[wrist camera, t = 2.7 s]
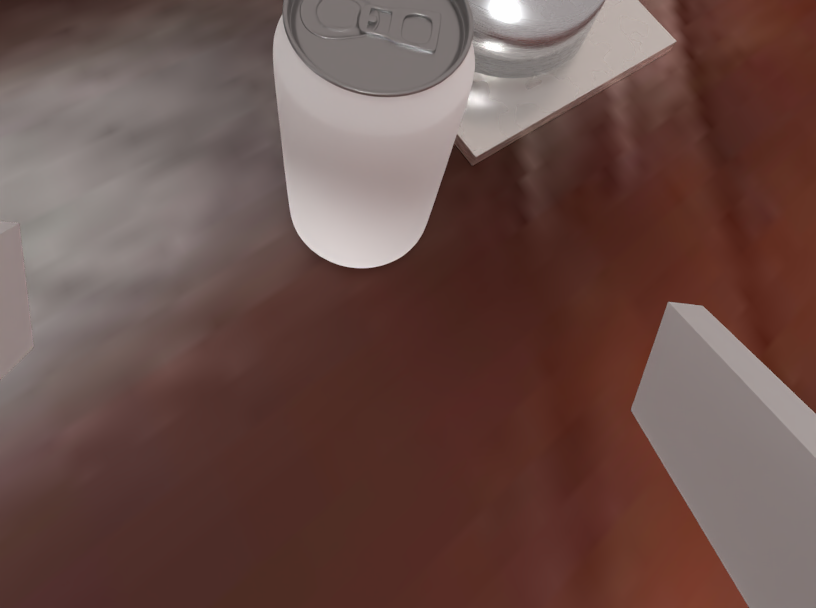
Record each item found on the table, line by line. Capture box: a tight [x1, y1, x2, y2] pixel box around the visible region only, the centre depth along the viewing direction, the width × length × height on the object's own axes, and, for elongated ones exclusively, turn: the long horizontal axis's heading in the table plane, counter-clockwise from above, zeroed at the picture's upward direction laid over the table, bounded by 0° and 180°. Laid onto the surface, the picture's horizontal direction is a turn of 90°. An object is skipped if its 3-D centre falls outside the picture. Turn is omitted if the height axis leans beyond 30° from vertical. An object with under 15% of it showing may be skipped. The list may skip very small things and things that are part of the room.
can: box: [273, 0, 475, 268], centre depth 24 cm, size 6×6×12 cm
